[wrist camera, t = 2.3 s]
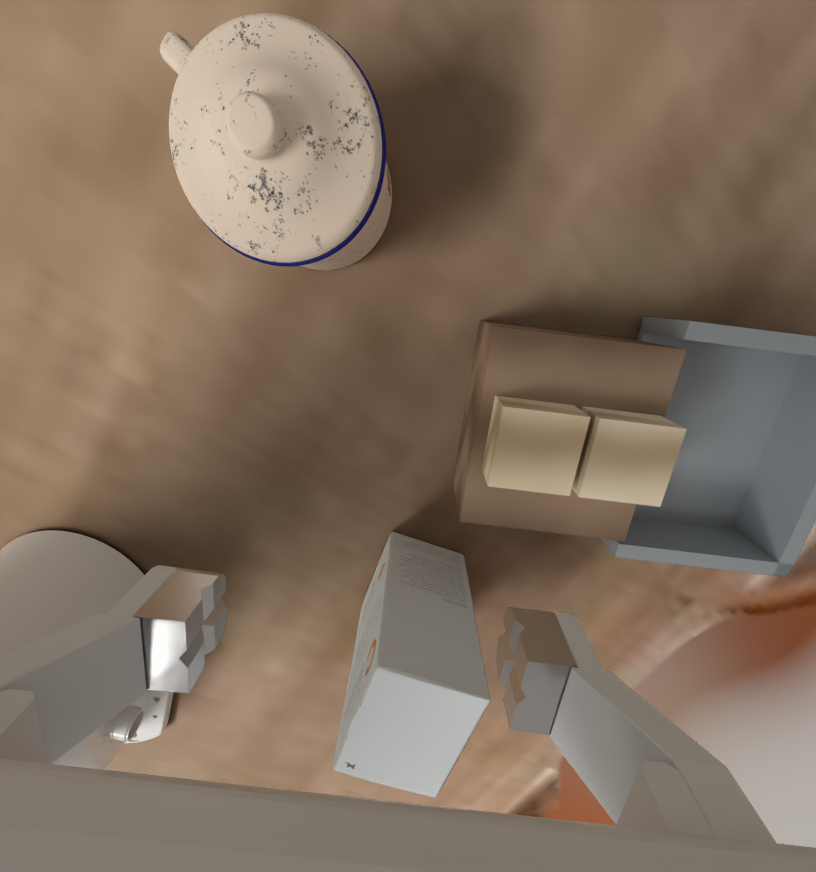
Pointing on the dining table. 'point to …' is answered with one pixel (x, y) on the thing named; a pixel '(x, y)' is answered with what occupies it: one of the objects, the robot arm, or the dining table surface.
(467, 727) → the small box
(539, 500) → the brown and beige block
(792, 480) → the tray
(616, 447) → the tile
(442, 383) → the dining table surface
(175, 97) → the teacup with lid
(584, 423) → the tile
